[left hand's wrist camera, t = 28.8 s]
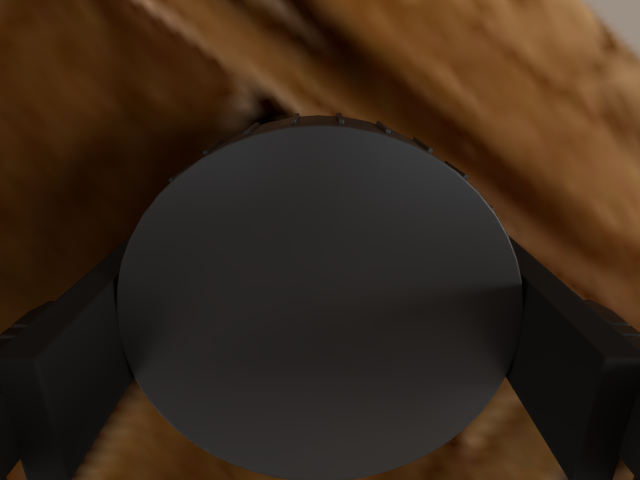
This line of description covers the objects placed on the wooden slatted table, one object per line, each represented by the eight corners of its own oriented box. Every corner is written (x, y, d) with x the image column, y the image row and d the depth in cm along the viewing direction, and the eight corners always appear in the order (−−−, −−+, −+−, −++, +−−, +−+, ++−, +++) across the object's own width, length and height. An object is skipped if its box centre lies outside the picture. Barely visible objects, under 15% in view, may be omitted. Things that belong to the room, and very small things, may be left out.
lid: (471, 421, 14) (498, 482, 12) (171, 423, 14) (145, 484, 12) (515, 110, 10) (563, 119, 8) (120, 114, 11) (72, 124, 8)
